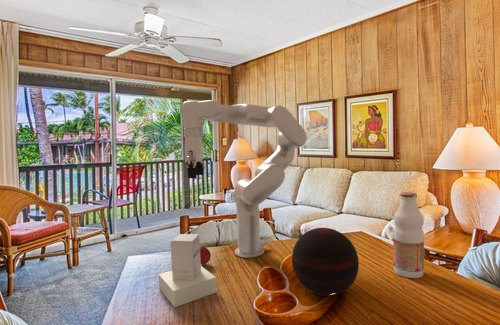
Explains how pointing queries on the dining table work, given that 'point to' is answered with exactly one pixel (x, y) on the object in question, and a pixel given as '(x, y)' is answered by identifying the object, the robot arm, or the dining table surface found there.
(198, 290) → the block
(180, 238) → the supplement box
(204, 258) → the onion
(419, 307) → the dining table surface
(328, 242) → the decorative orb
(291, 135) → the robot arm
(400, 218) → the fruit juice
